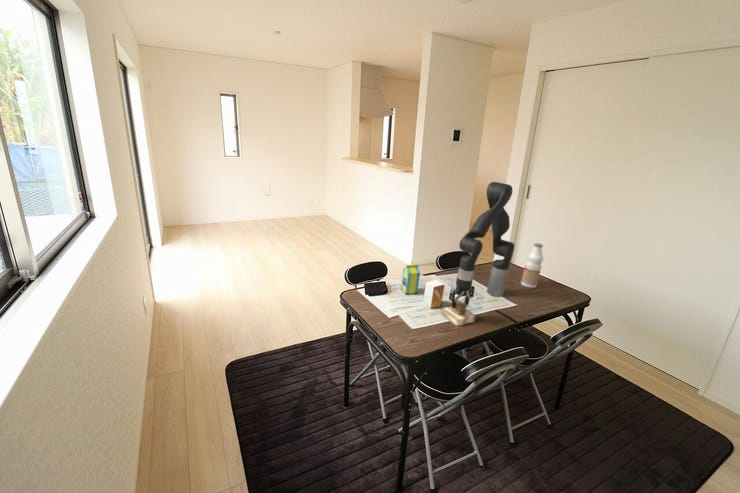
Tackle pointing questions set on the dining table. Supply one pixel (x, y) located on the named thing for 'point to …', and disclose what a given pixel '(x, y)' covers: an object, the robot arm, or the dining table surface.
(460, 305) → the walnut cube
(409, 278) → the carton
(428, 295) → the small box
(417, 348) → the dining table surface
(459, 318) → the beige square plate
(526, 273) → the fruit juice
